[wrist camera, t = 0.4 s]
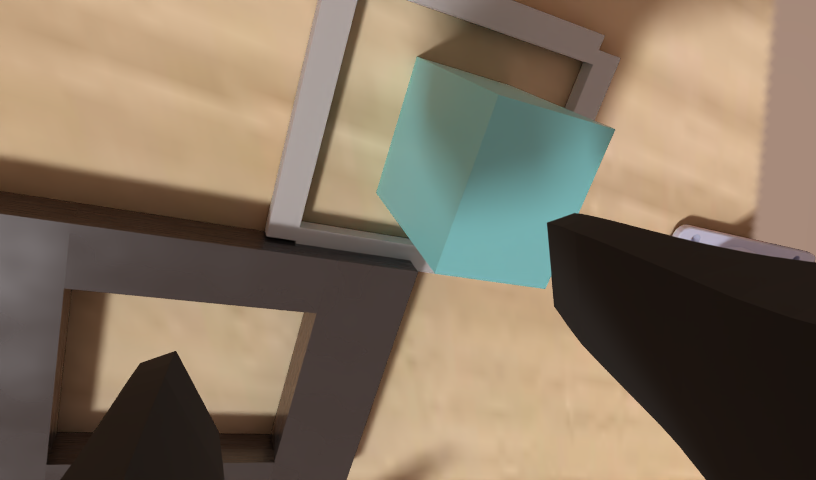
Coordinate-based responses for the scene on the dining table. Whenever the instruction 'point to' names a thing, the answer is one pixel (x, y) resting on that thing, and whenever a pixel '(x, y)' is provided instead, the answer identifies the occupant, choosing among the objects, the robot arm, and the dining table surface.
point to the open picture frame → (476, 3)
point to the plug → (486, 173)
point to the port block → (202, 282)
